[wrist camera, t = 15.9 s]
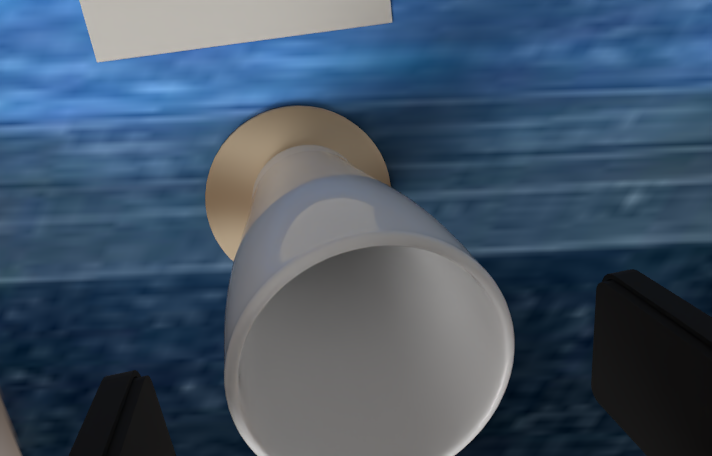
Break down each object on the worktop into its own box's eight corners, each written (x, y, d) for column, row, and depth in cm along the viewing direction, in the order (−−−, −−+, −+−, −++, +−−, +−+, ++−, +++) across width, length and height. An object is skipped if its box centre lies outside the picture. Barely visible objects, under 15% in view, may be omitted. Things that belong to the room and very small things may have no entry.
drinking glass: (205, 188, 24) (147, 375, 10) (318, 96, 24) (413, 161, 10) (297, 286, 27) (350, 542, 13) (401, 204, 27) (570, 376, 13)
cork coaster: (186, 121, 24) (184, 123, 23) (377, 92, 25) (380, 93, 25) (228, 296, 27) (227, 301, 26) (396, 262, 28) (399, 267, 28)
